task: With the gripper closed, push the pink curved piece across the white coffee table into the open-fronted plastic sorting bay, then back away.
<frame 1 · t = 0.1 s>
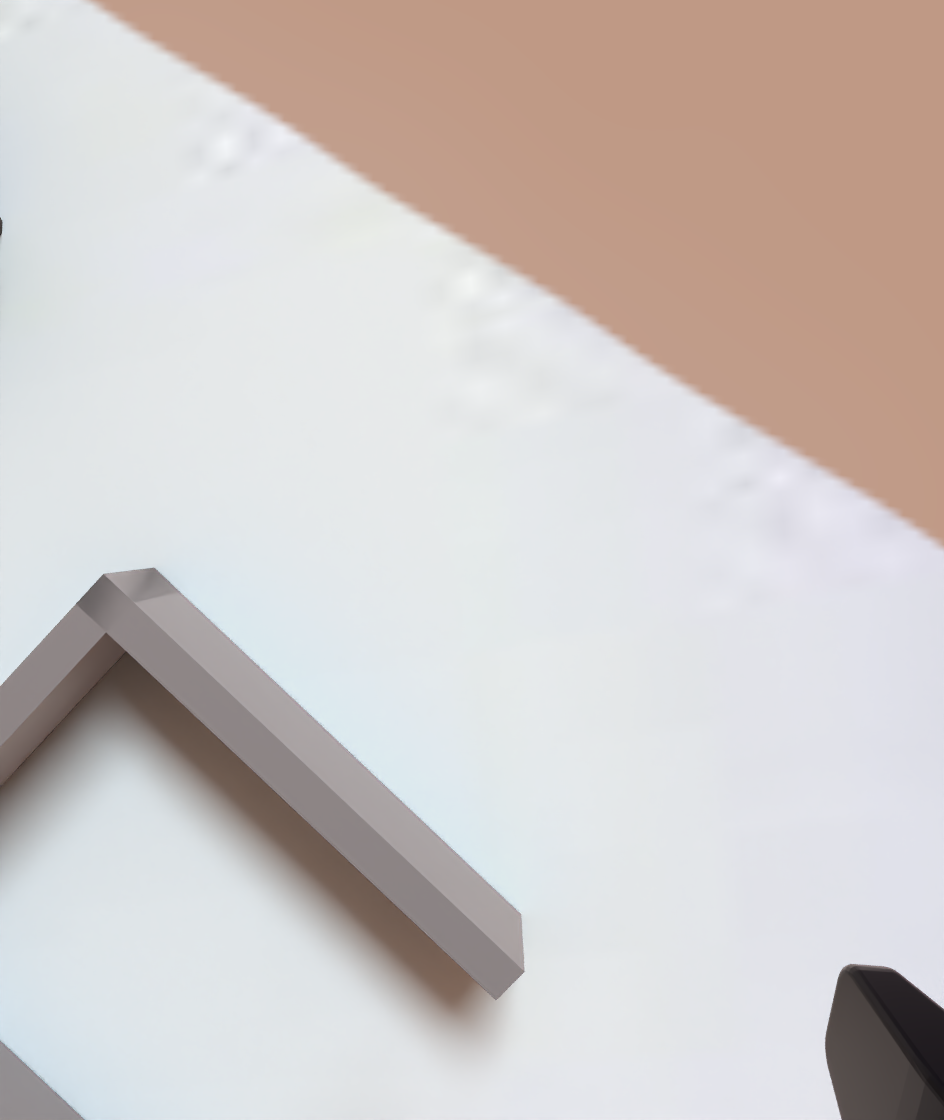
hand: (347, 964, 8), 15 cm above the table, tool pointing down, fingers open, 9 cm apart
sorting bay: (169, 918, 24), on the table
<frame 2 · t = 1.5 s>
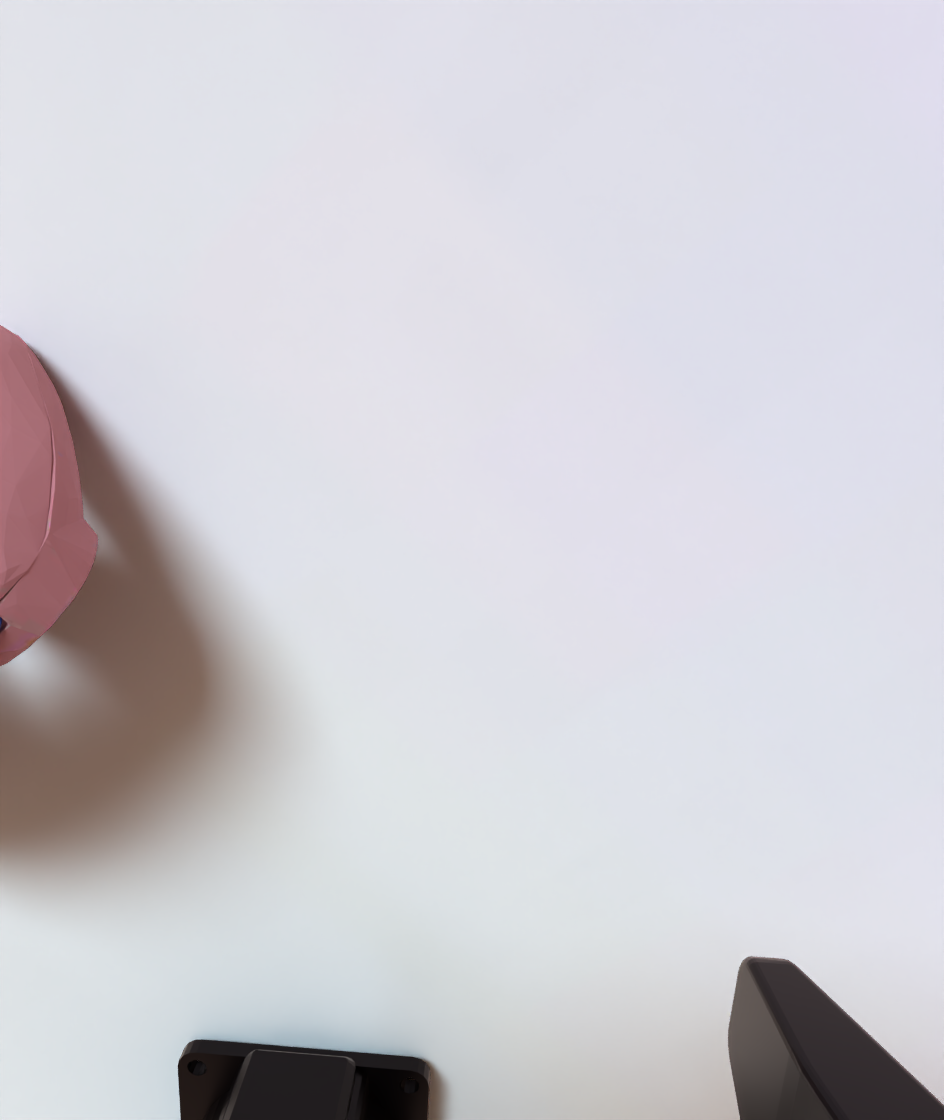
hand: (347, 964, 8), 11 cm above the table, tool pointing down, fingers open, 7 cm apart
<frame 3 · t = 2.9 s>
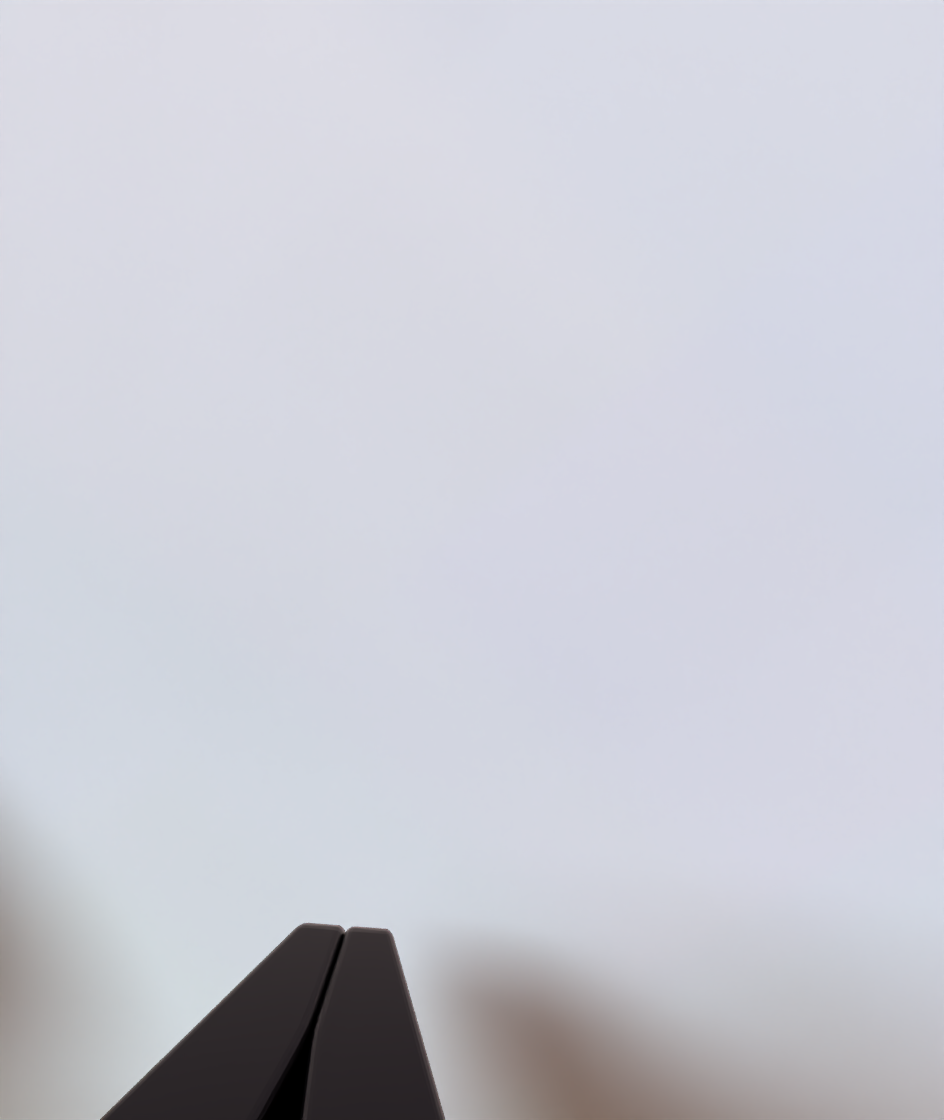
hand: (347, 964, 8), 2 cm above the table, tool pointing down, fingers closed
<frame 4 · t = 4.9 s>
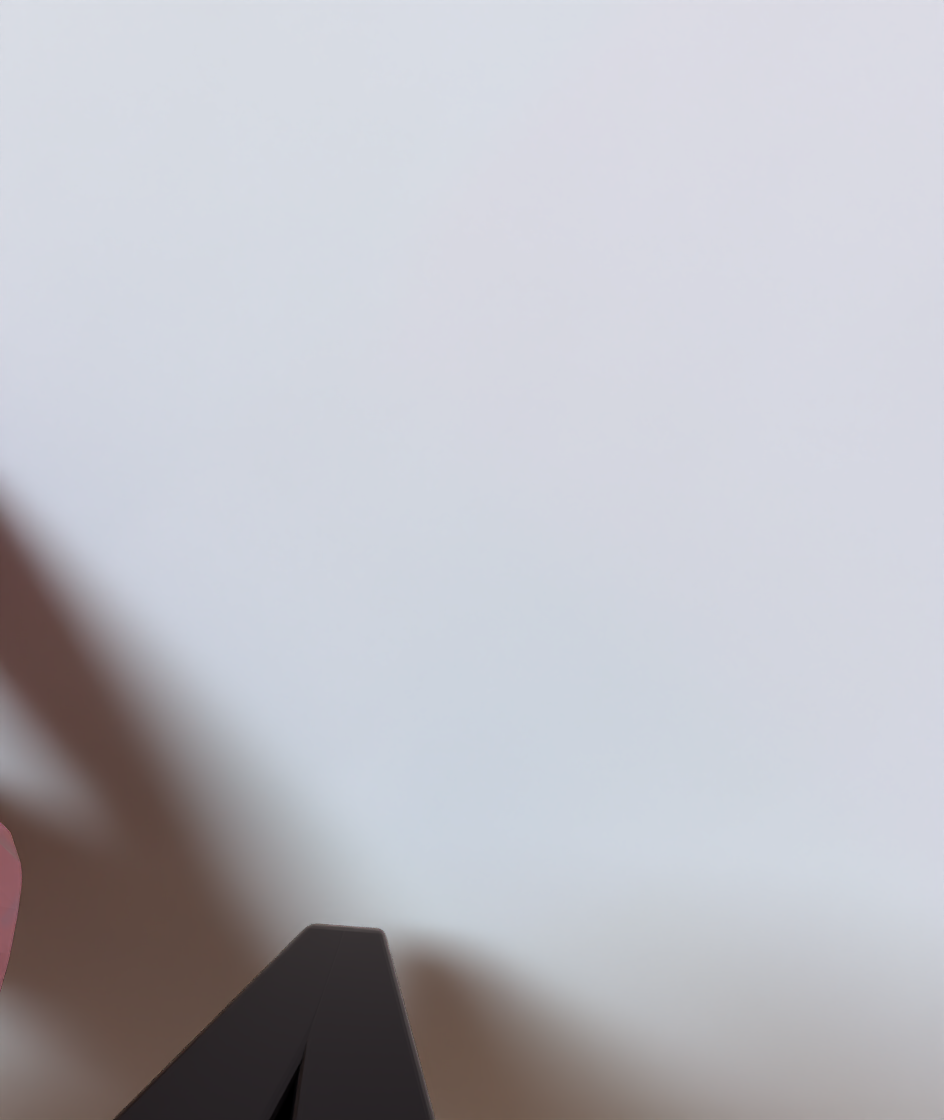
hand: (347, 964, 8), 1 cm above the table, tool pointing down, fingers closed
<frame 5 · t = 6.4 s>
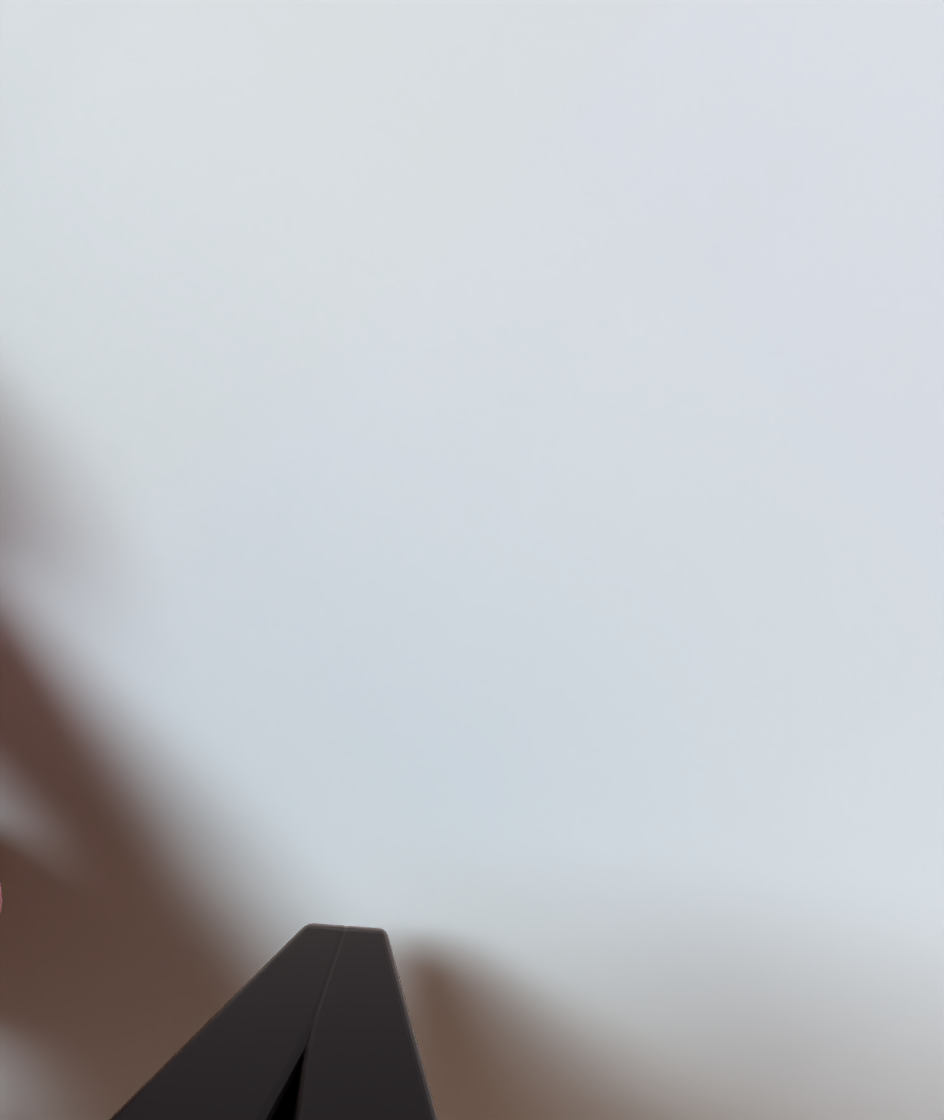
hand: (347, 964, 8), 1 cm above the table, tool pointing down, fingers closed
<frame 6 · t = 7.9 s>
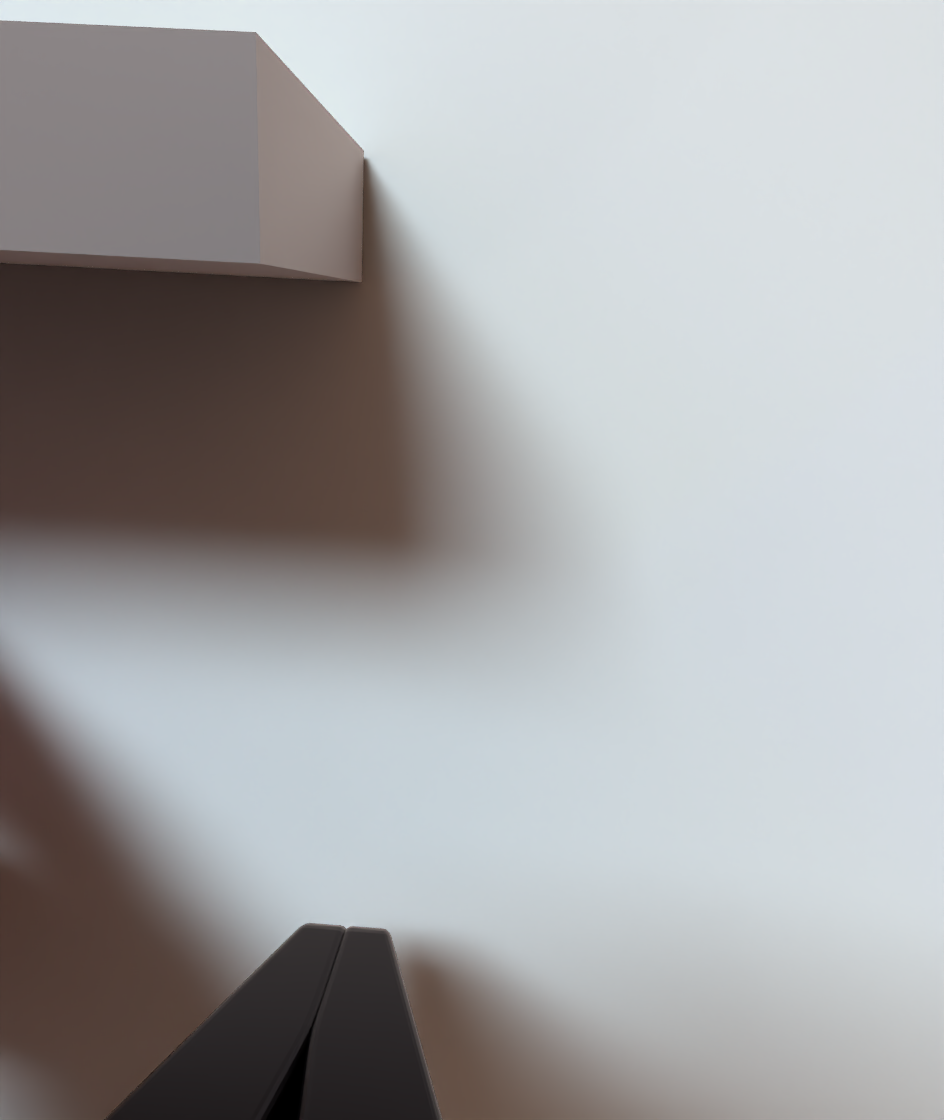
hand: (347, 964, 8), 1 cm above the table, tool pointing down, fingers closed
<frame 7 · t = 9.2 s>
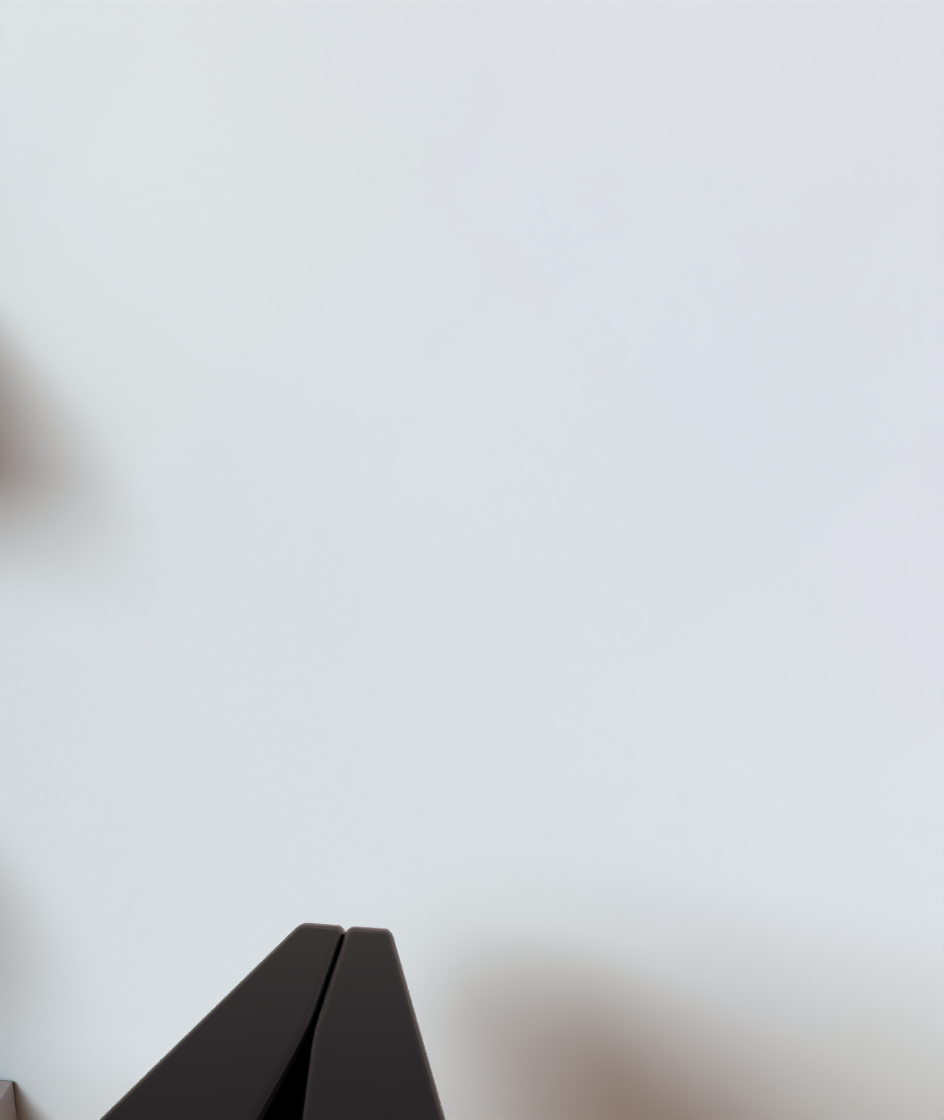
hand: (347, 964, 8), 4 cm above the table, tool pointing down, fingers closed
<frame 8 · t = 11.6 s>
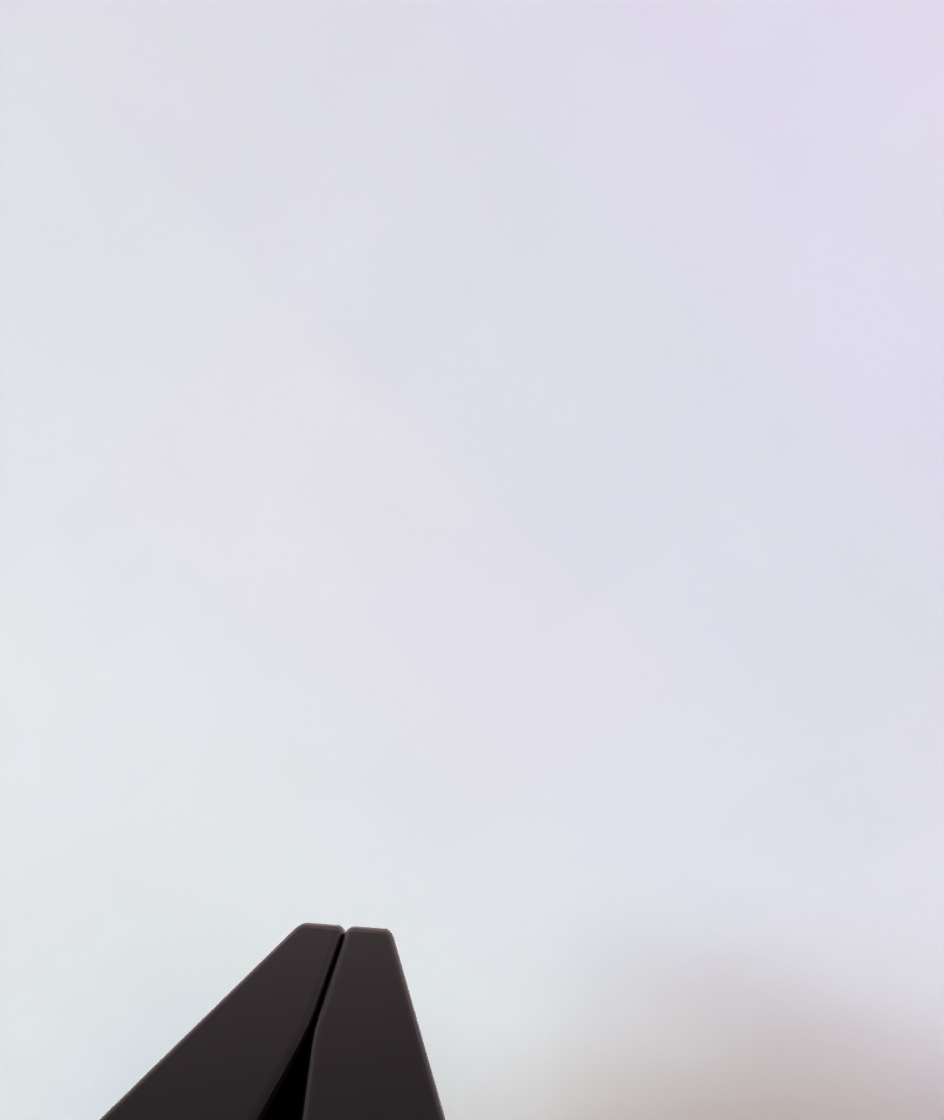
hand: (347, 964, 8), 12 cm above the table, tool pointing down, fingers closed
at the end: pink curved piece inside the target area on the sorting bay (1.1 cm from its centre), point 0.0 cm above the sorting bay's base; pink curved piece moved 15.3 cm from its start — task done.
